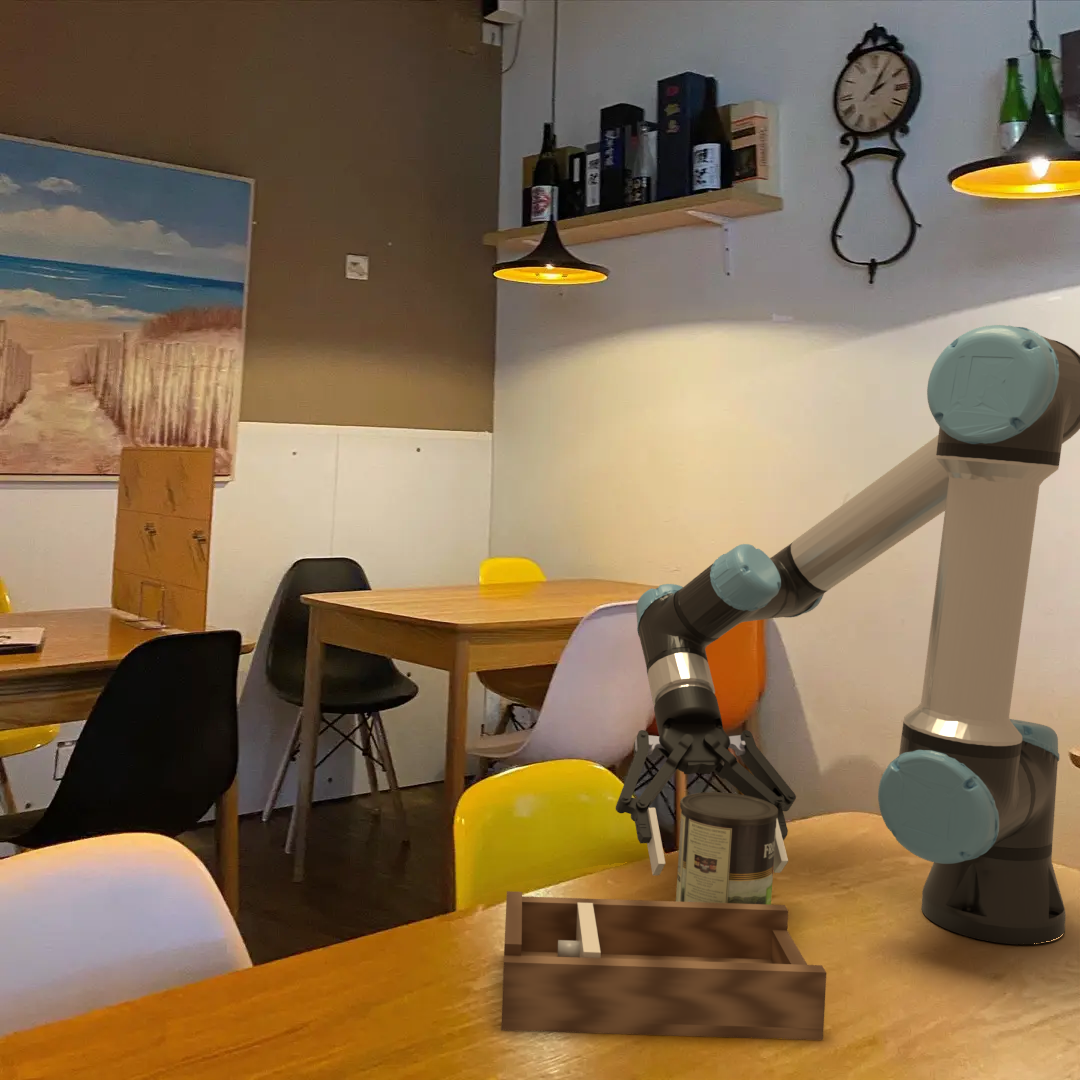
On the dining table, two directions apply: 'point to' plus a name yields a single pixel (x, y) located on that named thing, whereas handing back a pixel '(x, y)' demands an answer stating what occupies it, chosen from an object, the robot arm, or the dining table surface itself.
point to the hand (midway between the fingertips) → (720, 868)
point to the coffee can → (726, 849)
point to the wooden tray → (660, 971)
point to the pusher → (582, 936)
